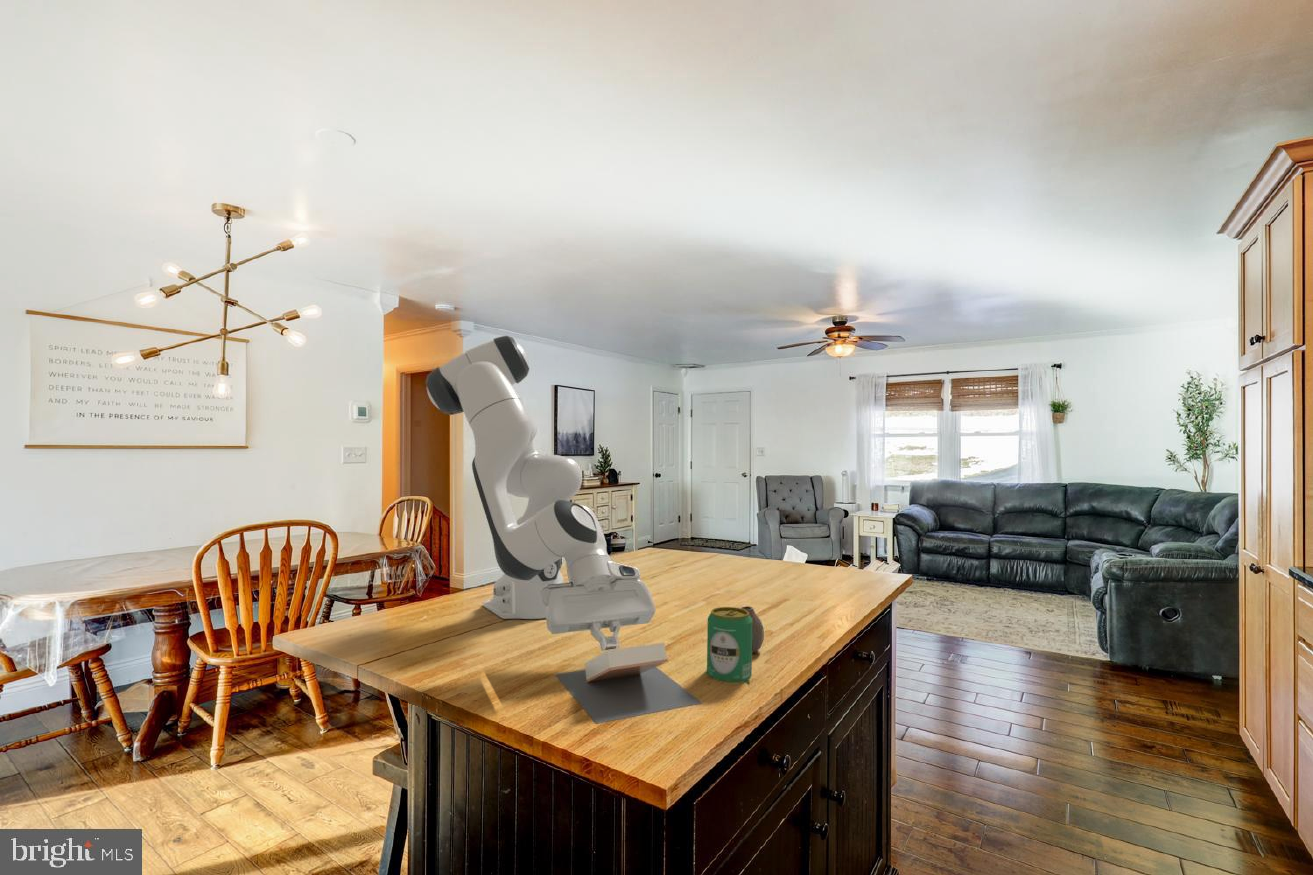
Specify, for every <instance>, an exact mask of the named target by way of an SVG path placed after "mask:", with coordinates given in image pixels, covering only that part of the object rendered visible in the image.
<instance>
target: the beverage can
mask: <svg viewBox="0 0 1313 875" xmlns="http://www.w3.org/2000/svg"><path fill="white" fill-rule="evenodd" d="M706 631H707V635H706V636H707V637H706V638H707V639H706V642H707V644H706V646H707V648H706V650H707V651H706V674H707V676H708V677H710V678H712V679H714V680H717V681H722V682H727V683H728V682H730V683H735V682H736V683H739V682H743V683H745V684H746V683H747V682H748V681H750V679H751V677H752V675H753V672H752V669H753V667H752V666H753V664H752V663H753V661H752V660H753V653H752V619H751V617H750V615H749V612H748V611H747V610H744V609H741V607H735V606H721V607H719V606H718V607H716V608H715V607H714V608H713V609H711V610H710V613H709V615H708V617H707V630H706ZM748 683H749V682H748ZM748 683H747V684H748Z"/></svg>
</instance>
